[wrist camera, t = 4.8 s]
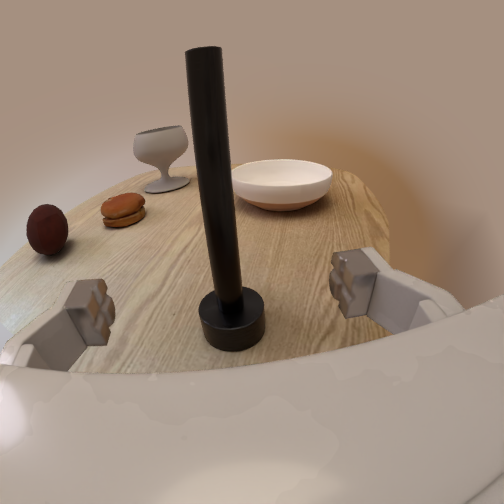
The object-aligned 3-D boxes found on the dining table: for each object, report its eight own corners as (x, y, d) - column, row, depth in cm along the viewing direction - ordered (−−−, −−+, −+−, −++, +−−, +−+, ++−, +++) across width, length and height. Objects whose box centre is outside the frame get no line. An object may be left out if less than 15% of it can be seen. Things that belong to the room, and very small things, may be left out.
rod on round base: (277, 322, 27) (267, 46, 15) (238, 362, 23) (201, 36, 11) (230, 300, 31) (204, 58, 18) (191, 332, 27) (140, 60, 14)
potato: (64, 234, 50) (51, 193, 45) (83, 249, 43) (67, 200, 38) (31, 253, 44) (16, 211, 39) (44, 272, 37) (24, 222, 33)
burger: (140, 225, 49) (135, 202, 47) (97, 232, 49) (91, 210, 46) (151, 206, 58) (147, 186, 55) (112, 212, 57) (108, 193, 55)
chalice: (142, 199, 62) (131, 138, 54) (139, 185, 73) (131, 133, 65) (198, 186, 66) (191, 126, 59) (187, 174, 78) (181, 123, 70)
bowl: (307, 181, 65) (307, 156, 62) (349, 212, 49) (352, 180, 45) (225, 191, 62) (222, 164, 58) (243, 228, 45) (240, 192, 42)
